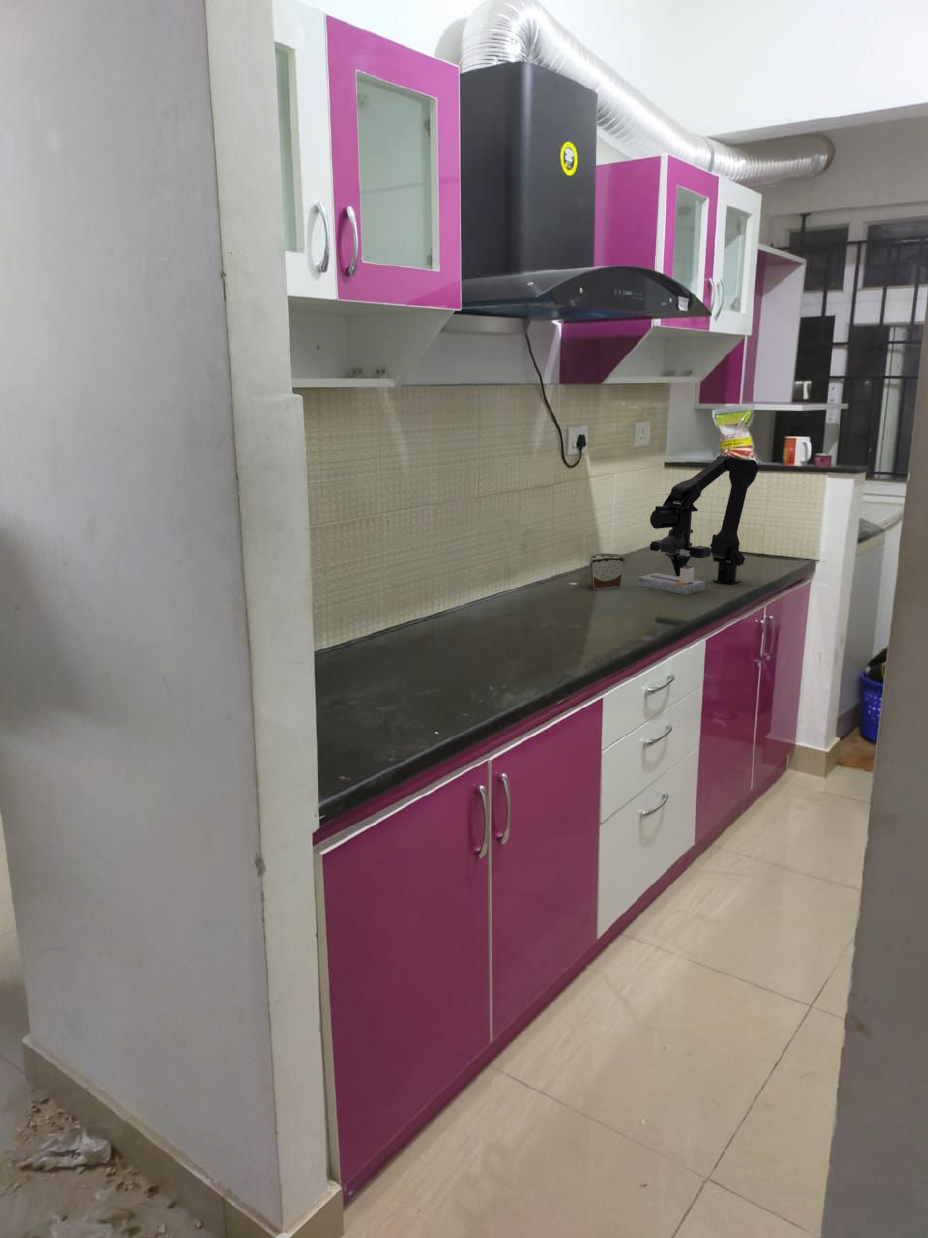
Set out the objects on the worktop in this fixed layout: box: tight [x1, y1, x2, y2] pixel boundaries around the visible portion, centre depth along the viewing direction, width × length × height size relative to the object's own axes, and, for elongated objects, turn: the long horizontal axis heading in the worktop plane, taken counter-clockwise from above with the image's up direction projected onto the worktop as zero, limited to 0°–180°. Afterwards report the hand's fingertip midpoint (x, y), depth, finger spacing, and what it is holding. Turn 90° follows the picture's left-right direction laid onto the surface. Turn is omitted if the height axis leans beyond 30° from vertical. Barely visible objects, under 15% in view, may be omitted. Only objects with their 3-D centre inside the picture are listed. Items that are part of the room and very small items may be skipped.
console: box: [637, 572, 706, 596], centre depth 288 cm, size 10×18×3 cm, turn 44°
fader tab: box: [679, 564, 695, 583], centre depth 283 cm, size 4×2×5 cm, turn 134°
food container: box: [588, 552, 627, 590], centre depth 289 cm, size 12×6×10 cm, turn 109°
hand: (678, 576), depth 286 cm, fingers closed
